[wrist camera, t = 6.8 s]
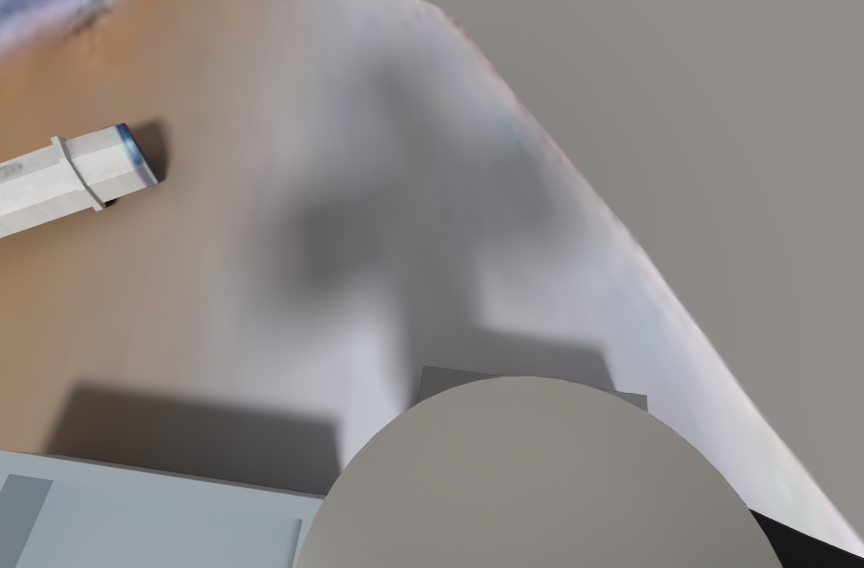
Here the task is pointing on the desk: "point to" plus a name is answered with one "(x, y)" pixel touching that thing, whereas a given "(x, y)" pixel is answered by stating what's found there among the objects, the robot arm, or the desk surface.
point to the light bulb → (532, 489)
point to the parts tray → (142, 517)
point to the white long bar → (71, 177)
